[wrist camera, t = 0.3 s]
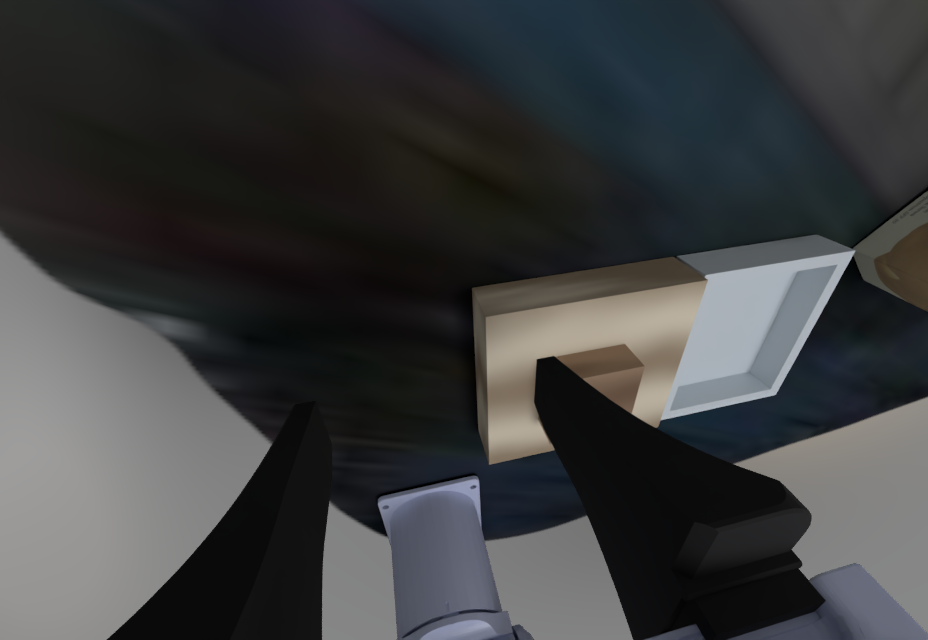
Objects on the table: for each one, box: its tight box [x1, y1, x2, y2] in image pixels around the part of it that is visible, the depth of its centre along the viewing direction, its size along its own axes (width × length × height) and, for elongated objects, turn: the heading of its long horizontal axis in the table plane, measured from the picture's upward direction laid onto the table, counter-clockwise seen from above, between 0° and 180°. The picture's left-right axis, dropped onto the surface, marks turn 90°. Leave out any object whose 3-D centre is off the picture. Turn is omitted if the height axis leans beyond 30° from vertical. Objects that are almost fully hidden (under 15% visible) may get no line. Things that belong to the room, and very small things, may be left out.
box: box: [661, 235, 856, 420], centre depth 27 cm, size 12×10×2 cm
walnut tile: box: [538, 344, 645, 445], centre depth 23 cm, size 5×5×2 cm
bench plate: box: [472, 257, 708, 465], centre depth 25 cm, size 12×12×3 cm
